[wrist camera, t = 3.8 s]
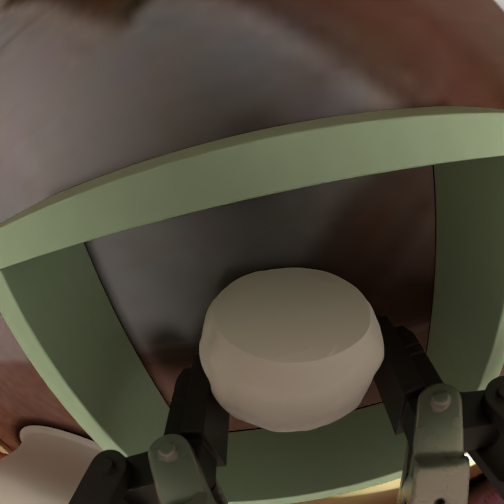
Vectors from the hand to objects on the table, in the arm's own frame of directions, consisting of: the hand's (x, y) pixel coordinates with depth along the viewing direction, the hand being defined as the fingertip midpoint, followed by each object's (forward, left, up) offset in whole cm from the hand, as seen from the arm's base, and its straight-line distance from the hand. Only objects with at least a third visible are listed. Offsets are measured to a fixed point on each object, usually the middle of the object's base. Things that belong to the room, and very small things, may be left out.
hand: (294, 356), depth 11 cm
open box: (0, 0, -2) cm, 2 cm away
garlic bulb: (0, 0, -2) cm, 2 cm away
